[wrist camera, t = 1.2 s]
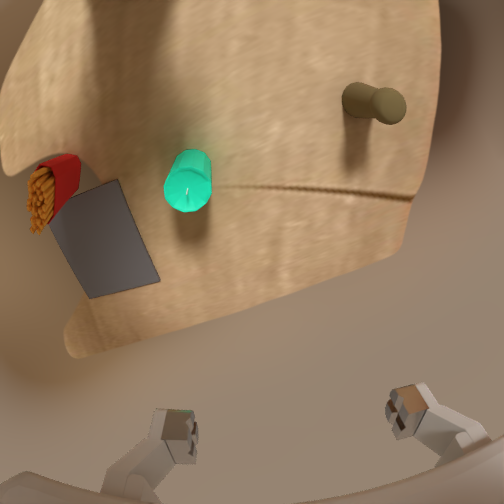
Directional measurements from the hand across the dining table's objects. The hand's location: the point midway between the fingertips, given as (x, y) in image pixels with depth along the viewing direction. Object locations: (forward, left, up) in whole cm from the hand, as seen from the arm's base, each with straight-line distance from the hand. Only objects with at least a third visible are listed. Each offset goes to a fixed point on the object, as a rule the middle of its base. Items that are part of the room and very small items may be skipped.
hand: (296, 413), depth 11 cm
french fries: (-6, -26, -41) cm, 49 cm away
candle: (0, -6, -41) cm, 41 cm away
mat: (+8, -26, -41) cm, 49 cm away
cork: (-5, +22, -41) cm, 47 cm away
